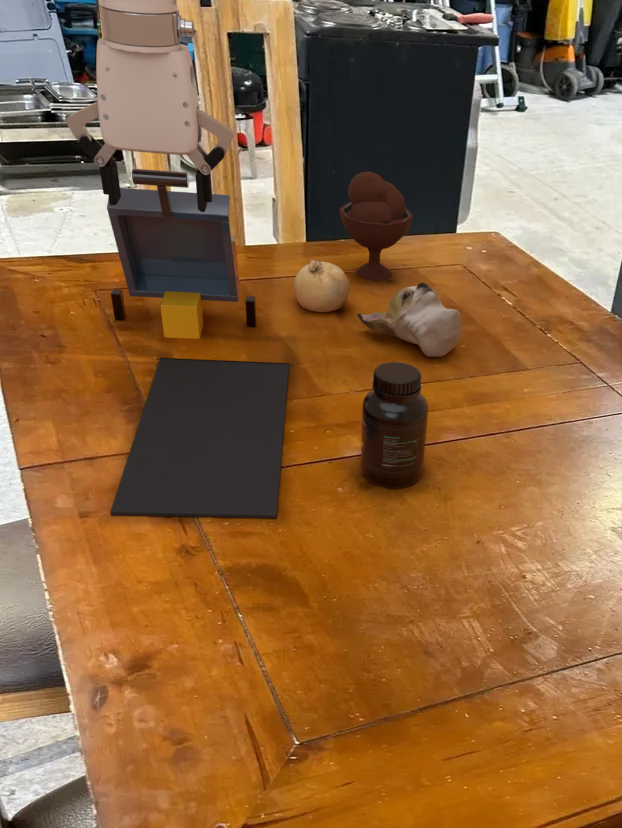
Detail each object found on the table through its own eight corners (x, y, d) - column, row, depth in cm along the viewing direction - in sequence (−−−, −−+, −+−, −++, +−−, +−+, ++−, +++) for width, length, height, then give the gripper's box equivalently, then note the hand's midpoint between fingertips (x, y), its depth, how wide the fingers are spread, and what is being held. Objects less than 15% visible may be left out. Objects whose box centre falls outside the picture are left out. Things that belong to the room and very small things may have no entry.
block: (160, 304, 113) (165, 290, 116) (164, 338, 115) (169, 323, 119) (196, 306, 113) (200, 292, 117) (199, 340, 116) (203, 325, 119)
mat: (110, 515, 87) (110, 512, 87) (169, 330, 118) (169, 328, 118) (276, 518, 89) (276, 515, 89) (291, 336, 120) (291, 333, 120)
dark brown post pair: (256, 331, 121) (254, 301, 118) (115, 324, 118) (110, 293, 115) (256, 326, 122) (255, 296, 119) (117, 319, 119) (112, 288, 117)
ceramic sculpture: (426, 306, 110) (352, 272, 119) (423, 372, 115) (353, 335, 124) (487, 291, 116) (413, 259, 124) (481, 354, 121) (411, 320, 130)
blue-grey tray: (239, 282, 120) (237, 309, 118) (132, 276, 118) (128, 303, 116) (225, 152, 103) (222, 181, 100) (99, 142, 101) (93, 172, 98)
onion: (296, 294, 131) (295, 246, 126) (350, 298, 132) (351, 250, 127) (292, 317, 125) (290, 267, 120) (348, 321, 126) (349, 271, 121)
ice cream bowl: (380, 293, 134) (385, 189, 125) (324, 272, 139) (325, 169, 129) (422, 275, 141) (429, 175, 131) (367, 256, 146) (370, 157, 136)
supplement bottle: (360, 454, 100) (363, 355, 92) (420, 457, 100) (429, 358, 92) (360, 488, 94) (363, 386, 87) (423, 491, 95) (433, 390, 87)
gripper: (231, 31, 94) (239, 200, 105) (59, 13, 91) (87, 188, 102) (224, 44, 88) (234, 221, 99) (41, 26, 86) (72, 210, 97)
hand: (159, 204), depth 101 cm, fingers open, 9 cm apart
